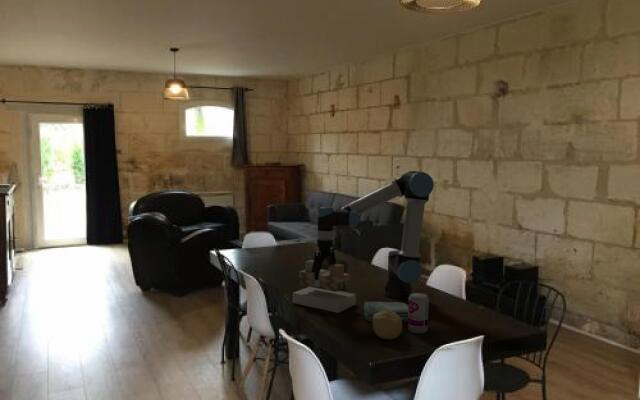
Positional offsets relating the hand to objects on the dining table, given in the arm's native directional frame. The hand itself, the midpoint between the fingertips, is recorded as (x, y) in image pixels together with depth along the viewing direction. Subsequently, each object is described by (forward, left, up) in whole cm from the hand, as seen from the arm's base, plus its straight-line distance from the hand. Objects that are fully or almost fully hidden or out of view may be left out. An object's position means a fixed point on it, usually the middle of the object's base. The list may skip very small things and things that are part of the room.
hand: (324, 283), depth 248 cm
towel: (-33, -2, -11) cm, 35 cm away
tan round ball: (-45, +22, -10) cm, 51 cm away
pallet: (0, 0, -1) cm, 1 cm away
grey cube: (+7, 0, +5) cm, 9 cm away
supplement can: (-52, +8, -10) cm, 54 cm away
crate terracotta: (-7, 0, +5) cm, 9 cm away
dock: (0, 0, -10) cm, 10 cm away
